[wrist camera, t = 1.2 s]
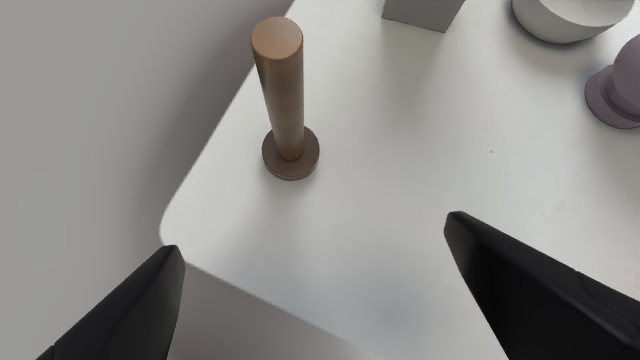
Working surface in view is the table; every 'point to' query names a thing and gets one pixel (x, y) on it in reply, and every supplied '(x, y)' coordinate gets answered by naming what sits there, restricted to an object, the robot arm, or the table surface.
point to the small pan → (569, 17)
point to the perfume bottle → (423, 12)
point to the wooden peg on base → (284, 98)
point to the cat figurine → (618, 88)
